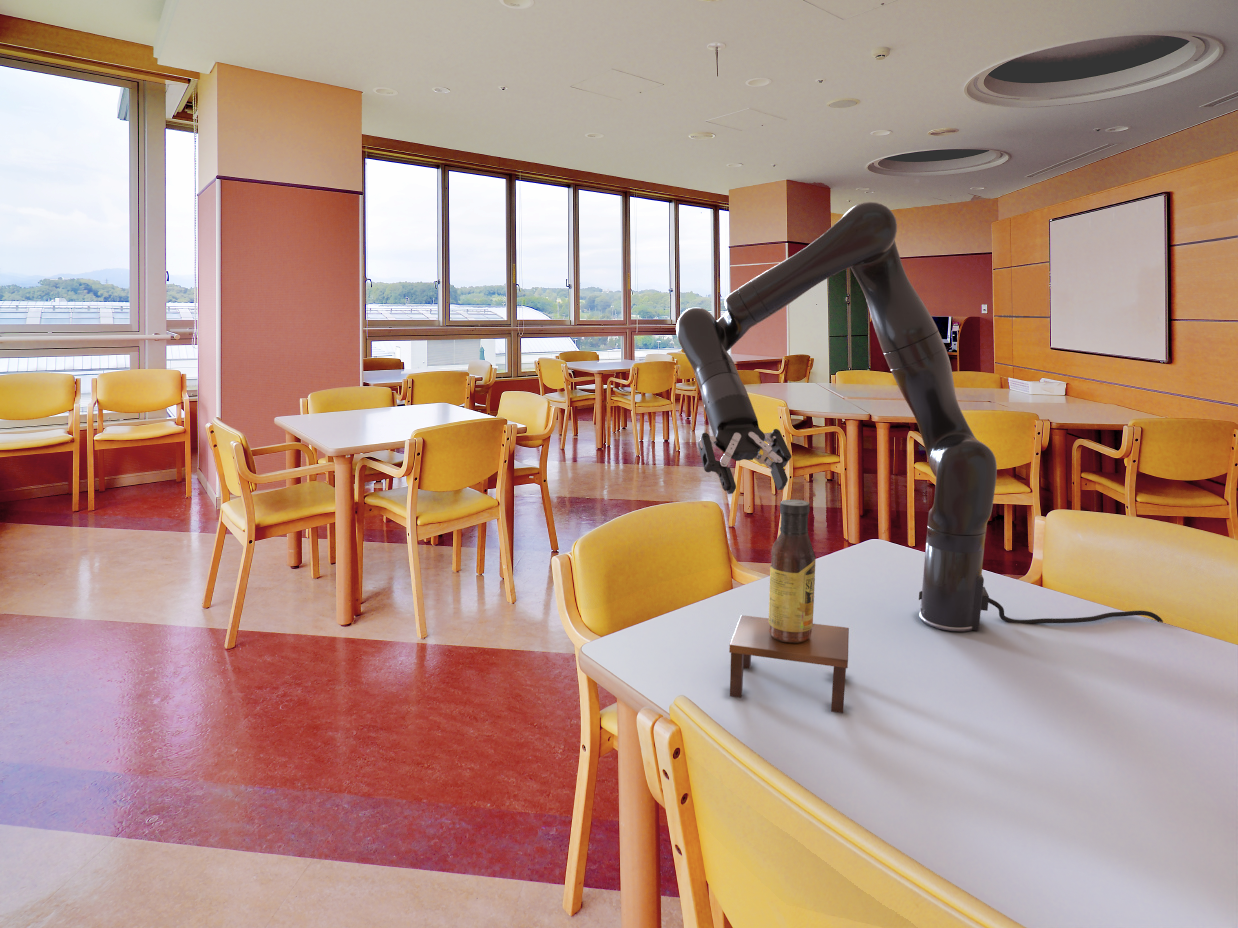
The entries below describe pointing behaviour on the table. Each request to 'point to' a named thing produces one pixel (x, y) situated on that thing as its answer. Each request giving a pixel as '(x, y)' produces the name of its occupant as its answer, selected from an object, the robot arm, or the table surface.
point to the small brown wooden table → (790, 652)
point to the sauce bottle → (792, 576)
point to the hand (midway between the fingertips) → (757, 489)
